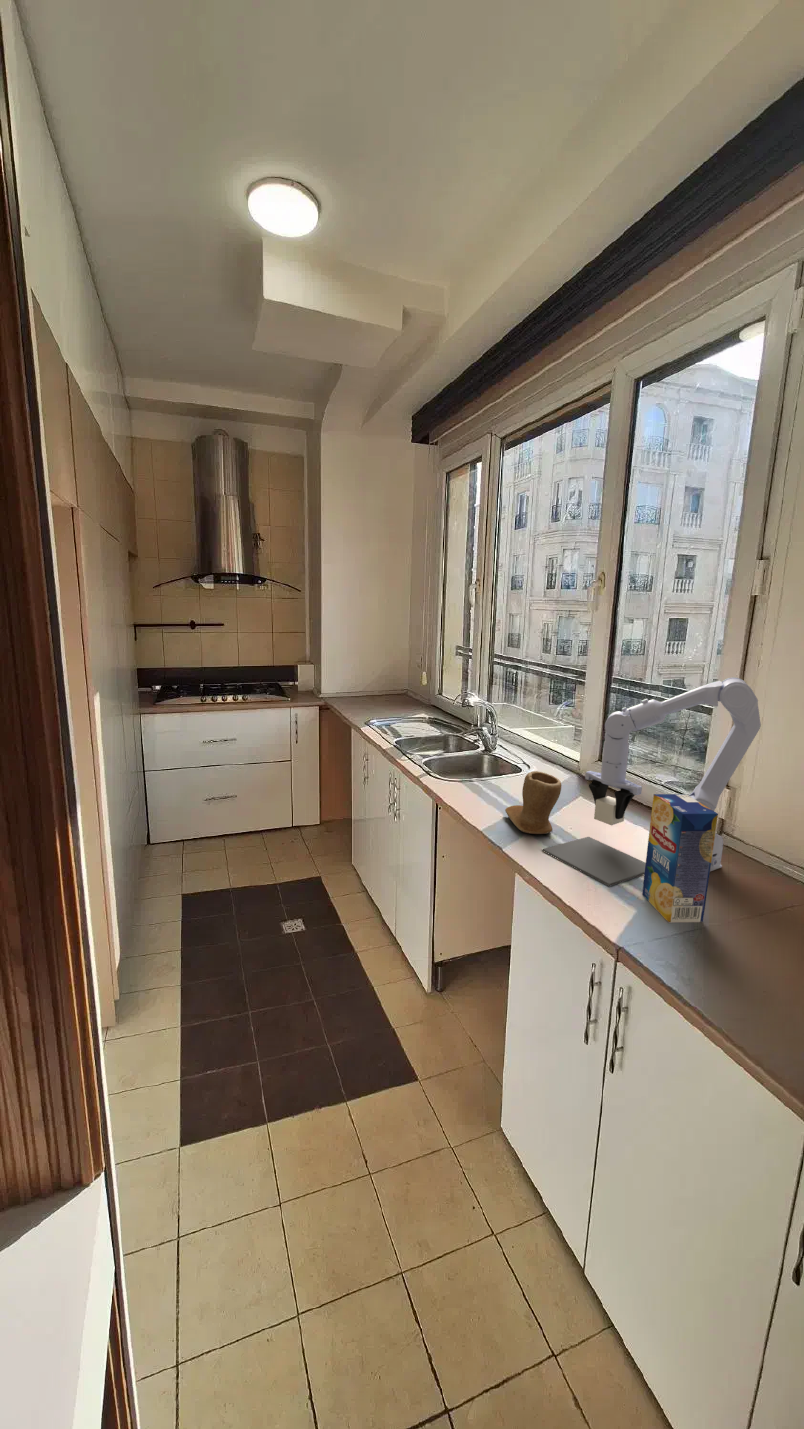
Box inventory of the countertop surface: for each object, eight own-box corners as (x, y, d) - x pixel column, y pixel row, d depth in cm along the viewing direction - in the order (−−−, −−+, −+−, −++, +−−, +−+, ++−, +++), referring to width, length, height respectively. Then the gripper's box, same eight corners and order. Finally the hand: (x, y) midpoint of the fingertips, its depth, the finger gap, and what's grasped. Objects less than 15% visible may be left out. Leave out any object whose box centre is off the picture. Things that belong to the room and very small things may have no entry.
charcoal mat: (656, 870, 134) (657, 867, 134) (609, 886, 126) (609, 883, 126) (588, 838, 151) (588, 836, 150) (542, 851, 142) (542, 848, 142)
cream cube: (623, 821, 144) (625, 802, 143) (611, 825, 141) (613, 805, 140) (606, 814, 148) (608, 796, 147) (594, 818, 145) (595, 799, 144)
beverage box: (673, 893, 123) (686, 794, 119) (703, 922, 113) (718, 813, 108) (641, 894, 123) (653, 794, 118) (668, 922, 112) (682, 813, 108)
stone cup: (564, 837, 151) (568, 781, 148) (518, 838, 150) (522, 782, 147) (545, 815, 166) (549, 764, 163) (503, 816, 165) (507, 764, 162)
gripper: (651, 766, 138) (645, 820, 141) (599, 752, 150) (594, 802, 153) (634, 770, 134) (628, 826, 137) (581, 756, 146) (577, 807, 149)
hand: (609, 814), depth 145 cm, fingers closed on cream cube, 5 cm apart
